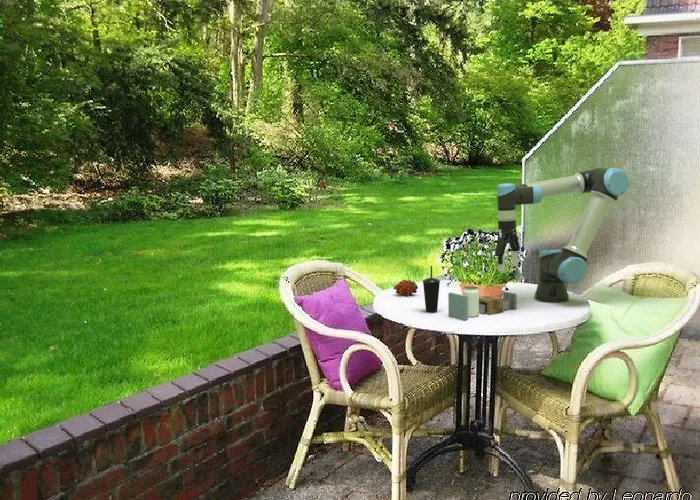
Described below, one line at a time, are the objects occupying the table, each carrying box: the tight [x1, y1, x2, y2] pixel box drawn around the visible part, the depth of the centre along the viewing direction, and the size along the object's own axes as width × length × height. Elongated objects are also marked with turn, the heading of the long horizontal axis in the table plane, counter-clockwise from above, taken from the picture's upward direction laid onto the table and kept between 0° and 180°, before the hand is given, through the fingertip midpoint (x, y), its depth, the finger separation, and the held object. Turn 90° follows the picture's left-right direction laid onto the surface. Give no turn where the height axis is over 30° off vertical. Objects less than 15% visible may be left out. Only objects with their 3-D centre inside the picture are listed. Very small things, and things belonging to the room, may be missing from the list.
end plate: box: [447, 291, 469, 322], centre depth 289 cm, size 2×10×10 cm, turn 33°
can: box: [462, 285, 480, 318], centre depth 293 cm, size 6×6×12 cm
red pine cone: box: [392, 279, 419, 297], centre depth 338 cm, size 8×8×12 cm
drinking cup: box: [422, 265, 441, 314], centre depth 301 cm, size 8×8×20 cm
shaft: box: [479, 291, 518, 314], centre depth 301 cm, size 18×6×7 cm, turn 123°
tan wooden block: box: [479, 295, 504, 316], centre depth 299 cm, size 8×8×6 cm
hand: (508, 268), depth 302 cm, fingers open, 13 cm apart
